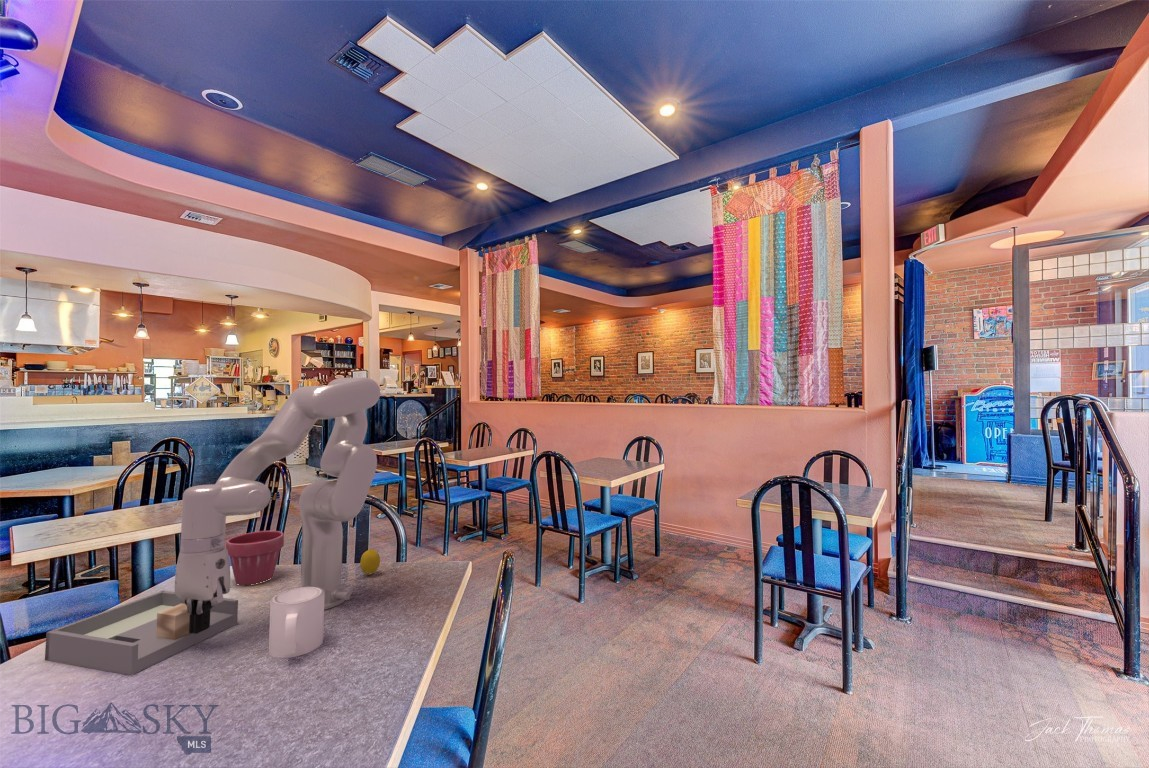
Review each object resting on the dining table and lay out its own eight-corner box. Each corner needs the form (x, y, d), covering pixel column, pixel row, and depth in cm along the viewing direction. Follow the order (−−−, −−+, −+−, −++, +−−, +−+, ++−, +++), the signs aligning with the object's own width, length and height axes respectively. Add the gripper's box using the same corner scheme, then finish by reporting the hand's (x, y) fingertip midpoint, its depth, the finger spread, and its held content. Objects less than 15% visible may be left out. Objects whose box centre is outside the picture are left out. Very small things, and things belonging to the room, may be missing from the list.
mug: (320, 659, 96) (322, 606, 97) (261, 671, 92) (263, 615, 92) (324, 630, 108) (325, 583, 109) (272, 639, 104) (274, 590, 105)
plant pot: (211, 587, 133) (213, 541, 134) (255, 570, 147) (257, 528, 147) (252, 592, 130) (254, 545, 130) (293, 574, 143) (295, 532, 144)
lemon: (372, 579, 140) (372, 552, 140) (355, 577, 141) (356, 550, 141) (383, 572, 145) (384, 546, 146) (367, 571, 146) (368, 545, 147)
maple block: (198, 628, 103) (199, 605, 104) (174, 640, 99) (175, 615, 99) (180, 626, 105) (181, 603, 105) (156, 637, 100) (157, 613, 100)
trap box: (237, 623, 111) (238, 599, 112) (131, 675, 90) (132, 646, 90) (162, 613, 117) (163, 590, 117) (44, 659, 95) (46, 632, 95)
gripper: (247, 541, 103) (244, 626, 102) (193, 536, 106) (189, 619, 105) (214, 551, 96) (210, 643, 95) (157, 546, 99) (152, 635, 98)
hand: (199, 630), depth 100 cm, fingers closed
